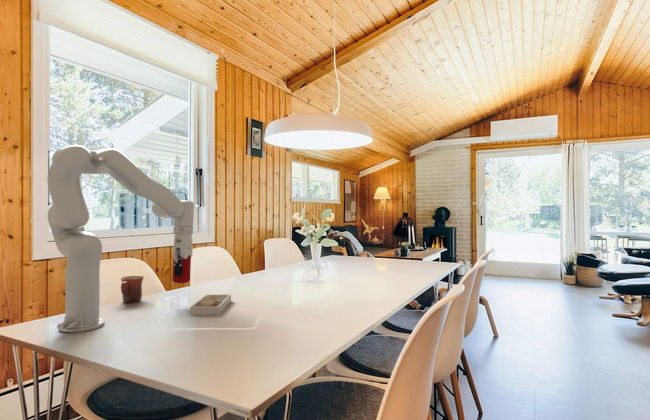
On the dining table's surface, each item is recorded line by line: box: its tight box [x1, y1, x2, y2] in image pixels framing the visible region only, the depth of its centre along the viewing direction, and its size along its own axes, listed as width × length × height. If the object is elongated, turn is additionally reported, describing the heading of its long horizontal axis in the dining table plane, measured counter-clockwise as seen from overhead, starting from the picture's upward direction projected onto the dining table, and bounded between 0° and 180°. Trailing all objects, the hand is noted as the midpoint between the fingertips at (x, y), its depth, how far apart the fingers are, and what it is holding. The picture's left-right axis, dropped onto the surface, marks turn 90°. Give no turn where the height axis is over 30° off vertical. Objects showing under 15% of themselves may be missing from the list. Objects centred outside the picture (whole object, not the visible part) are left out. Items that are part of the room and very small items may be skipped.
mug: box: [120, 275, 145, 304], centre depth 157 cm, size 12×9×10 cm
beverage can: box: [172, 255, 192, 284], centre depth 152 cm, size 7×7×12 cm
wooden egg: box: [201, 294, 217, 306], centre depth 143 cm, size 6×6×6 cm
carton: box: [189, 294, 232, 316], centre depth 148 cm, size 20×11×4 cm, turn 2°
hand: (181, 274), depth 152 cm, fingers closed on beverage can, 6 cm apart
